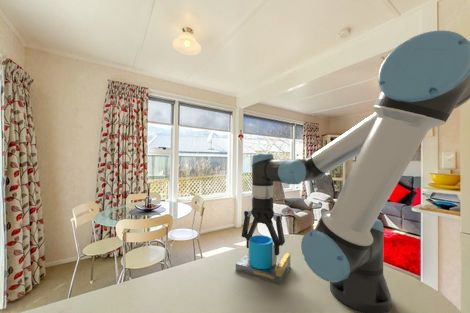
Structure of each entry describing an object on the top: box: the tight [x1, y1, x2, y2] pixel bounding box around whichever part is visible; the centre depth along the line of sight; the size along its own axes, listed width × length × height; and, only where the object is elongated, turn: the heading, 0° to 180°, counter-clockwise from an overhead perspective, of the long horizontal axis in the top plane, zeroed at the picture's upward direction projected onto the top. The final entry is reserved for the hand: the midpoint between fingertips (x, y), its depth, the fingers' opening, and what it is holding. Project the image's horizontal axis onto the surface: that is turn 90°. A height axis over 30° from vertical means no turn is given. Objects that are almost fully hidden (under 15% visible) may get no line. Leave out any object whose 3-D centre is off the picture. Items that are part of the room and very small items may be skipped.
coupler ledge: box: [235, 251, 291, 286], centre depth 73 cm, size 16×12×5 cm
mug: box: [248, 234, 274, 269], centre depth 74 cm, size 12×8×8 cm
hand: (262, 260), depth 73 cm, fingers closed on mug, 8 cm apart
